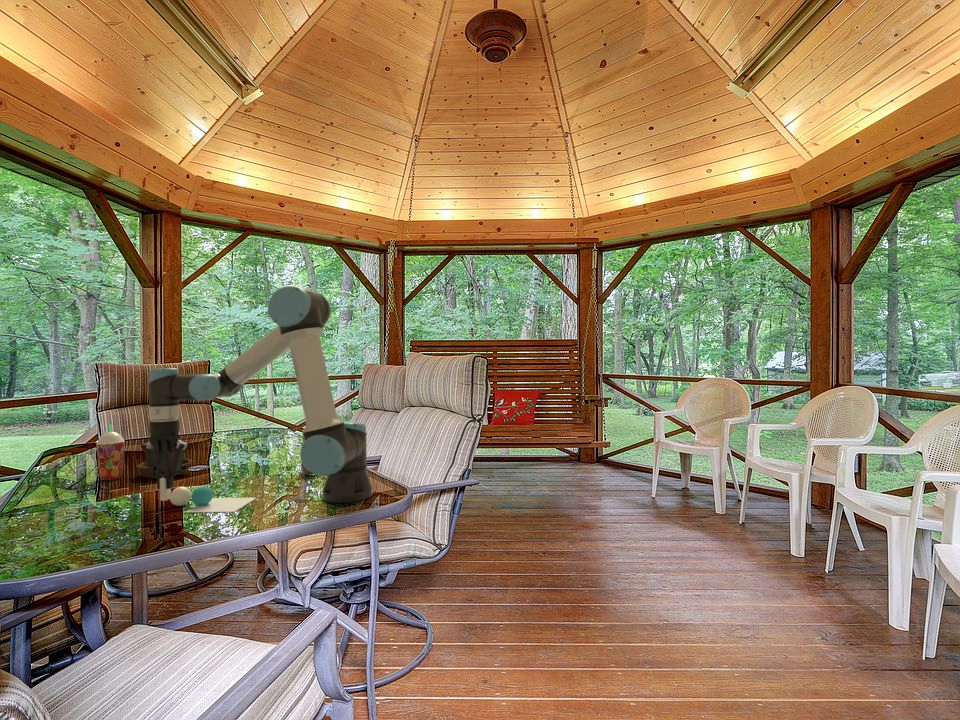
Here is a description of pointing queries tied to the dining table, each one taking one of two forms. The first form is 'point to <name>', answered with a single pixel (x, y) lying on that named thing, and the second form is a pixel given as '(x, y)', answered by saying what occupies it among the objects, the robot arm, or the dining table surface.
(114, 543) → the dining table surface
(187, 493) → the cue ball
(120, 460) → the smoothie
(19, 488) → the dining table surface
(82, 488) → the dining table surface
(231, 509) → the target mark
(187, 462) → the dish
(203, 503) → the object ball
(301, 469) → the vase
